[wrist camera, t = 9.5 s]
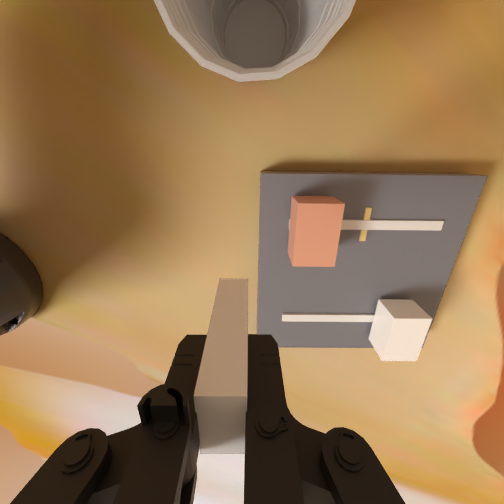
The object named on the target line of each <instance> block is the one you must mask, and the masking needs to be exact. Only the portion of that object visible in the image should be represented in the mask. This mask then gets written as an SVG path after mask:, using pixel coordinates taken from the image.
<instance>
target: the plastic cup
mask: <svg viewBox="0 0 504 504" xmlns="http://www.w3.org/2000/svg"><path fill="white" fill-rule="evenodd" d="M154 2H155V4H156V7H157V9H158V11H159V13H160V15H161V17H162V19H163V21H164V23H165V26H166V28H167V30H168V32H169V34H170V35H171V36H172V37H173V38H174V39H175V40H176V41H177V42H178V43H179V44H180V45H181V46H182V47H183V48H184V49H185V50H186V51H187V52H188V53H189V54H190V55H191V56H192V57H193V58H194V59H195V60H196V62H197V63H198V64H199V65H200V66H201V67H204V68H206V69H208V70H211V71H213V72H216V73H218V74H220V75H223V76H225V77H228V78H230V79H233V80H235V81H237V82H246V81H260V80H273V79H279V78H281V77H283V76H284V75H286V74H288V73H290V72H291V71H293V70H295V69H297V68H298V67H300V66H302V65H304V64H305V63H307V62H309V61H311V60H313V59H314V58H316V57H317V56H318V54H319V53H320V52H321V51H322V50H323V48H324V47H325V46H326V45H327V44H328V42H329V41H330V40H331V39H332V37H333V36H334V35H335V34H336V33H337V31H338V30H339V29H340V28H341V26H342V25H343V24H344V23H345V22H346V20H347V19H348V18H349V17H350V14H351V12H352V9H353V7H354V4H355V2H356V0H154Z"/></svg>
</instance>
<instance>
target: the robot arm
mask: <svg viewBox="0 0 504 504" xmlns="http://www.w3.org/2000/svg"><path fill="white" fill-rule="evenodd" d="M41 301H42V285H41V281H40V278H39V275H38V273H37V271H36V269H35V268H34V266H33V264H32V263H31V261H30V260H29V259H28V258H27V256H26V255H25V254H24V253H23V252H22V251H21V250H20V249H19V248H18V247H17V246H16V245H15V244H13V243H12V242H11V241H10V240H8V239H7V238H5V237H4V236H3V235H1V234H0V335H3V334H5V333H7V332H10V331H12V330H14V329H15V328H17V327H19V326H20V325H21V324H22V323H24V322H25V321H26V320H28V319H29V318H30V317H31V316H33V315H34V314H35V313H36V311H37V310H38V308H39V307H40V304H41ZM137 407H138V411H139V415H140V419H141V423H140V424H138V425H136V426H134V427H132V428H130V429H127V430H124V431H121V432H118V433H114V434H111V435H108V436H106V433H105V432H103V431H102V430H100V429H94V428H89V429H86V430H83V431H79V432H77V433H76V434H74V435H73V436H71V437H69V438H68V439H66V440H65V441H64V442H63V443H62V444H61V445H60V446H59V447H58V448H57V449H56V450H55V451H54V453H53V454H52V455H51V456H50V457H49V458H48V460H47V461H46V462H45V463H44V464H43V466H42V467H41V468H40V469H39V470H38V471H37V473H36V474H35V475H34V476H33V477H32V479H31V480H30V481H29V482H28V483H27V484H26V486H25V487H24V488H23V489H22V491H20V493H19V494H18V495H17V496H16V497H15V498H14V500H13V501H12V502H11V503H10V504H193V500H194V493H195V487H196V480H197V465H196V463H197V457H198V451H199V449H200V454H245V477H244V504H405V502H404V501H403V499H402V497H401V496H400V494H399V492H398V491H397V489H396V488H395V486H394V484H393V483H392V481H391V479H390V478H389V476H388V475H387V473H386V471H385V470H384V468H383V466H382V465H381V463H380V461H379V460H378V458H377V457H376V455H375V453H374V452H373V450H372V448H371V447H370V446H369V445H368V443H367V442H366V441H365V440H364V438H363V437H361V436H360V435H359V434H357V433H356V432H354V431H353V430H350V429H347V428H344V427H341V428H333V429H331V430H330V431H328V432H327V433H326V434H325V433H322V432H319V431H317V430H314V429H311V428H308V427H306V426H304V425H302V424H301V423H300V422H298V421H297V420H296V419H295V418H294V417H293V416H292V415H291V413H290V411H289V409H288V407H287V404H286V399H285V392H284V385H283V378H282V371H281V365H280V357H279V350H278V343H277V342H276V341H275V339H274V338H273V336H272V335H271V334H248V279H219V284H218V288H217V293H216V297H215V302H214V306H213V311H212V315H211V320H210V324H209V329H208V333H207V335H186V336H185V338H184V339H183V340H182V341H181V342H180V343H179V345H178V348H177V350H176V353H175V357H174V359H173V362H172V366H171V367H170V370H169V373H168V376H167V379H166V382H165V384H163V385H159V386H157V387H155V388H153V389H151V390H150V391H149V392H148V393H147V394H146V395H144V396H143V397H142V399H141V401H140V402H139V404H138V405H137Z"/></svg>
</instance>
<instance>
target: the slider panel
mask: <svg viewBox="0 0 504 504" xmlns="http://www.w3.org/2000/svg"><path fill="white" fill-rule="evenodd" d="M486 179H487V176H483V175H475V174H468V173H390V172H302V171H261V176H260V217H259V259H258V300H257V334H271V335H272V336H273V338H274V339H275V341H276V342H277V343H278V347H313V348H374V347H373V345H372V344H371V342H370V341H369V335H370V331H371V327H372V323H373V319H374V315H375V311H376V308H377V304H378V300H379V299H403V300H413V301H414V302H415V303H416V304H418V305H419V306H420V307H421V308H422V309H423V310H424V311H425V312H426V313H427V314H428V315H429V316H430V317H431V318H432V321H431V324H432V322H433V319H434V316H435V314H436V311H437V308H438V306H439V303H440V300H441V298H442V295H443V292H444V290H445V287H446V284H447V282H448V279H449V277H450V274H451V271H452V269H453V266H454V263H455V261H456V258H457V255H458V253H459V250H460V247H461V245H462V242H463V240H464V237H465V234H466V232H467V229H468V226H469V224H470V221H471V218H472V216H473V213H474V210H475V208H476V205H477V202H478V200H479V197H480V195H481V192H482V189H483V187H484V184H485V181H486ZM292 196H333V197H335V198H336V199H338V200H340V201H341V202H343V203H344V204H345V207H344V213H343V219H342V225H341V231H340V237H339V243H338V250H337V256H336V262H335V267H296V266H292V263H291V260H290V257H289V255H288V239H289V226H290V213H291V199H292ZM431 324H430V327H431ZM430 327H429V329H430ZM429 329H428V332H429ZM428 332H427V335H428ZM427 335H426V337H427ZM426 337H425V340H426ZM425 340H424V343H425ZM424 343H423V345H424ZM423 345H422V348H423Z"/></svg>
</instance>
